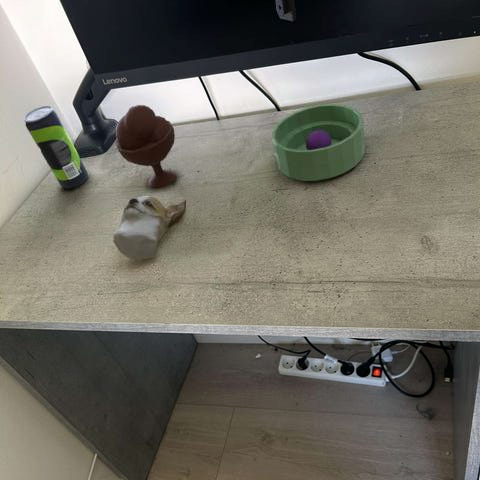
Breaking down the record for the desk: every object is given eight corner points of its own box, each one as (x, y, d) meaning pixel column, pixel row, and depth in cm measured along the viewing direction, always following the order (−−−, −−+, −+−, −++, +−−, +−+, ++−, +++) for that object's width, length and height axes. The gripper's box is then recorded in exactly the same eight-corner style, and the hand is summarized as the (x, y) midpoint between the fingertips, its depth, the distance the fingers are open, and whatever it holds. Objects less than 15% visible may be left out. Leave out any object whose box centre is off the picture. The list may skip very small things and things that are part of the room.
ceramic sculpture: (84, 227, 73) (122, 174, 83) (107, 271, 79) (140, 217, 89) (147, 224, 70) (179, 169, 80) (166, 270, 76) (194, 214, 86)
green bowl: (326, 127, 93) (322, 96, 89) (383, 152, 83) (383, 118, 79) (262, 164, 90) (255, 134, 86) (314, 194, 80) (309, 162, 76)
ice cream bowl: (196, 162, 96) (170, 86, 85) (176, 197, 89) (146, 119, 79) (149, 165, 100) (119, 92, 89) (127, 198, 93) (91, 124, 82)
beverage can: (93, 170, 104) (57, 102, 93) (83, 187, 100) (45, 118, 89) (67, 175, 106) (29, 108, 95) (57, 191, 102) (16, 124, 91)
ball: (321, 146, 88) (319, 123, 85) (338, 153, 85) (335, 129, 82) (302, 157, 87) (299, 134, 84) (318, 165, 84) (315, 141, 81)
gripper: (253, -141, 51) (281, 34, 64) (377, -192, 55) (381, -17, 67) (218, -136, 56) (250, 26, 68) (334, -183, 60) (345, -21, 72)
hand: (315, 4), depth 68 cm, fingers open, 9 cm apart
